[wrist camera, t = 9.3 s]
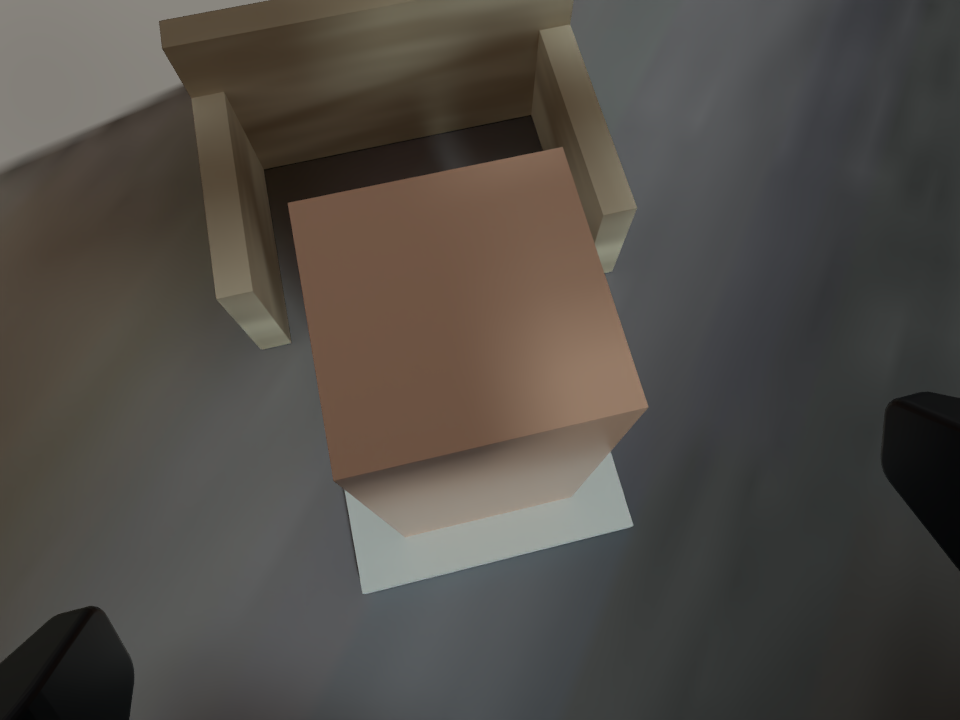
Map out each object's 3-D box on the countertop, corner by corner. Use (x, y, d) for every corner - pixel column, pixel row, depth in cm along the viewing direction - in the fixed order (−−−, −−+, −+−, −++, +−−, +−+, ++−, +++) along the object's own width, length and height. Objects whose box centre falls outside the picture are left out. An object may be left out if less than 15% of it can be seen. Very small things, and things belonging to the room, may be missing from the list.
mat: (629, 527, 20) (633, 525, 20) (366, 593, 20) (362, 594, 19) (560, 304, 23) (562, 297, 22) (324, 357, 22) (320, 351, 22)
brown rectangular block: (571, 497, 20) (648, 407, 11) (405, 537, 20) (333, 481, 10) (528, 343, 22) (563, 146, 12) (373, 377, 21) (287, 202, 12)
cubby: (612, 271, 23) (653, 165, 18) (261, 349, 22) (185, 265, 17) (550, 88, 26) (568, -56, 20) (232, 152, 25) (159, 20, 19)
